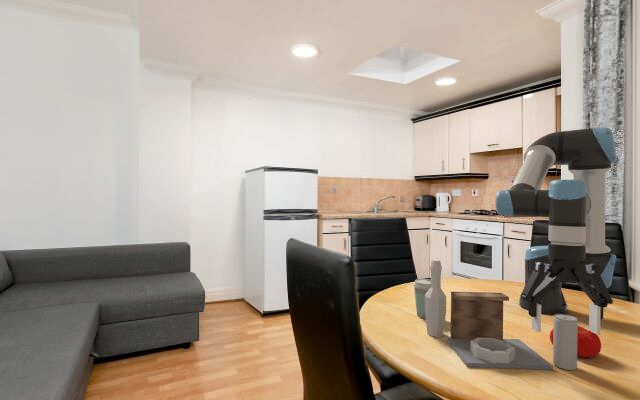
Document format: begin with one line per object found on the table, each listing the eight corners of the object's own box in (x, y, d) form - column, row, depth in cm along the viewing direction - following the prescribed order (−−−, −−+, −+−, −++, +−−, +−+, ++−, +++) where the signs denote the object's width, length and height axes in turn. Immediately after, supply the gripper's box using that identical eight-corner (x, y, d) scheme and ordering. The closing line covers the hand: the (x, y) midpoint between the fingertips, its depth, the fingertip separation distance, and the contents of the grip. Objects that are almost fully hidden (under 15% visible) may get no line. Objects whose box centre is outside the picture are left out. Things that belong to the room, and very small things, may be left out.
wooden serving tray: (500, 342, 101) (501, 292, 101) (508, 348, 97) (509, 297, 97) (450, 340, 102) (451, 291, 102) (455, 347, 98) (456, 295, 98)
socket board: (519, 342, 101) (519, 330, 101) (552, 369, 85) (552, 355, 85) (446, 340, 102) (447, 328, 102) (466, 366, 86) (467, 352, 86)
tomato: (585, 364, 88) (585, 337, 88) (542, 347, 99) (542, 323, 98) (609, 357, 92) (609, 332, 92) (565, 341, 102) (565, 318, 102)
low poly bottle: (421, 329, 111) (422, 258, 110) (442, 330, 110) (443, 258, 110) (427, 337, 104) (428, 262, 104) (449, 338, 104) (450, 262, 104)
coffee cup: (440, 321, 118) (440, 285, 118) (413, 319, 120) (414, 283, 120) (437, 313, 127) (437, 279, 126) (412, 311, 128) (412, 278, 128)
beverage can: (548, 362, 89) (548, 314, 89) (566, 361, 90) (567, 313, 89) (563, 371, 84) (563, 320, 84) (582, 370, 85) (582, 320, 85)
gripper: (608, 243, 90) (607, 327, 90) (506, 240, 91) (505, 324, 91) (633, 246, 82) (631, 339, 82) (521, 243, 84) (519, 334, 84)
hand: (565, 331), depth 87 cm, fingers open, 13 cm apart
